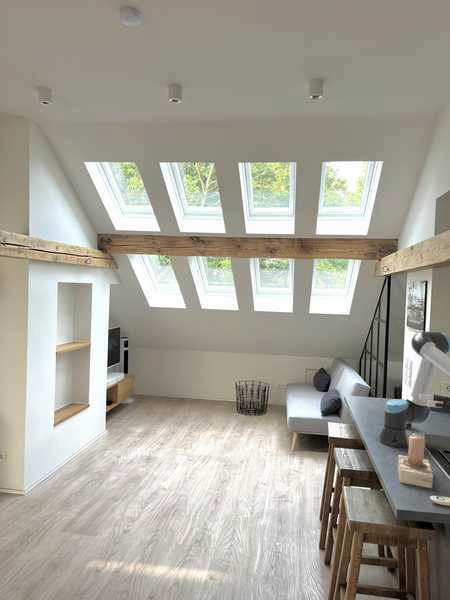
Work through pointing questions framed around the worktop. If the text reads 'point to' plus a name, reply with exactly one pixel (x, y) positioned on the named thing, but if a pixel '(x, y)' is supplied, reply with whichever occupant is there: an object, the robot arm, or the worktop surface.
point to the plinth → (414, 473)
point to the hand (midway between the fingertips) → (423, 400)
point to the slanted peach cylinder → (416, 450)
